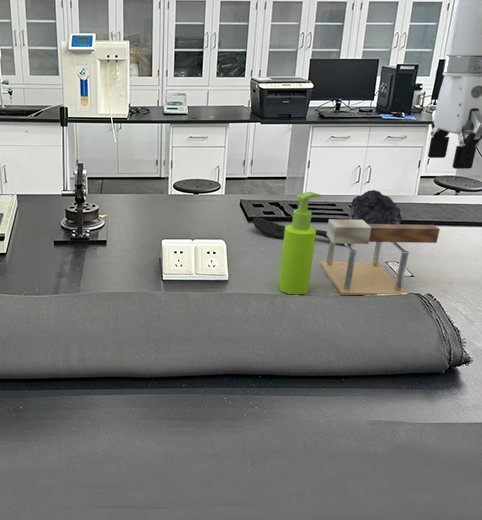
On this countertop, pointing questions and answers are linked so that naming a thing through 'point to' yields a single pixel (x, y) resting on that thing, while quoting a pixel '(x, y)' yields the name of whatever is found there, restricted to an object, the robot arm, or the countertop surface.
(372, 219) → the crystal cluster
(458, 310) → the countertop surface
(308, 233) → the soap dispenser
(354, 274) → the wire rack
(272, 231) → the hairbrush
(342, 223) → the cleaning brush
